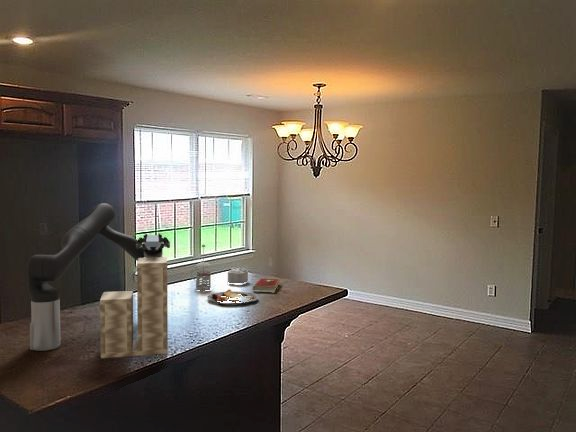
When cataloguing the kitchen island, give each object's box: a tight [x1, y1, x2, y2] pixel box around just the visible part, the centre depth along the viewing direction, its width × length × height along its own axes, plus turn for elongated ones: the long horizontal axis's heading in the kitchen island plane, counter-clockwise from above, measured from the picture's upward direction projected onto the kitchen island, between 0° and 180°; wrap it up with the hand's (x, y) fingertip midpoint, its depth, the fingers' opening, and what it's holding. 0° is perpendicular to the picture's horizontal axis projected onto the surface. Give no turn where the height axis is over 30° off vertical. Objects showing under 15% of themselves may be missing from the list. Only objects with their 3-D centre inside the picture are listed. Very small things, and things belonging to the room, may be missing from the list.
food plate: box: [207, 289, 259, 306], centre depth 252 cm, size 25×23×4 cm
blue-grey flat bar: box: [146, 234, 159, 247], centre depth 193 cm, size 4×20×2 cm, turn 14°
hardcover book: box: [252, 277, 281, 291], centre depth 281 cm, size 12×21×4 cm, turn 172°
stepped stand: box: [99, 256, 169, 359], centre depth 177 cm, size 22×12×32 cm, turn 104°
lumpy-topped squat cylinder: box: [227, 267, 249, 283], centre depth 294 cm, size 10×13×9 cm
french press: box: [190, 244, 212, 291], centre depth 274 cm, size 10×12×25 cm
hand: (152, 235), depth 197 cm, fingers closed on blue-grey flat bar, 4 cm apart
